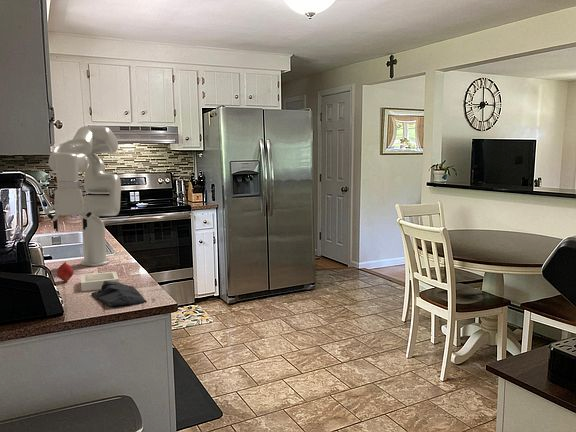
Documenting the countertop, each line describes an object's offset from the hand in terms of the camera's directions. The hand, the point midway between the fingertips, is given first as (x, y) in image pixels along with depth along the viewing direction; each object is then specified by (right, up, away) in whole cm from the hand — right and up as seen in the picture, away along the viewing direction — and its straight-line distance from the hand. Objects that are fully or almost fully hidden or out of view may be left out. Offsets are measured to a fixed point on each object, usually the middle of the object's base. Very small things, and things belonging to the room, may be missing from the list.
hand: (70, 230), depth 179 cm
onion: (-4, -21, +5) cm, 22 cm away
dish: (+11, -21, 0) cm, 24 cm away
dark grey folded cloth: (+25, -24, -16) cm, 38 cm away
